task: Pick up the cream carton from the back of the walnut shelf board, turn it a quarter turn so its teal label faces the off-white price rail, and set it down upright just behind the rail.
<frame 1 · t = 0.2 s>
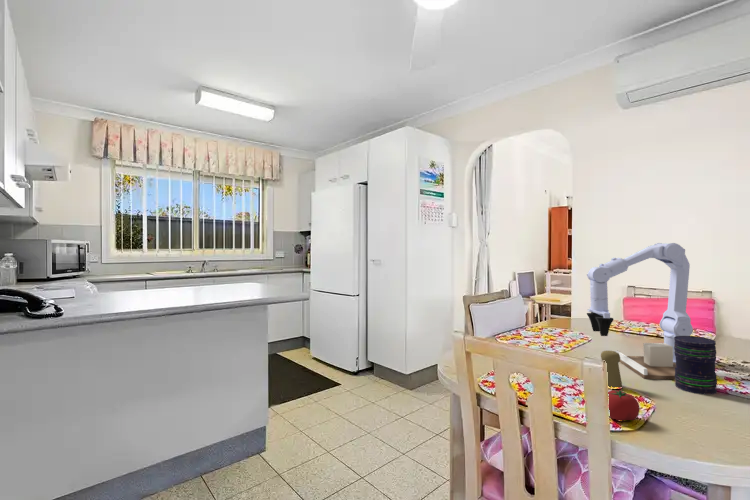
hand: (600, 333, 146), 10 cm above the table, tool pointing down, fingers open, 7 cm apart
tomato: (619, 419, 98), on the table
shelf: (653, 368, 134), on the table
dark blue cylinder: (695, 389, 116), on the table
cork: (611, 386, 119), on the table
carton: (654, 362, 137), point 1 cm above the table, touching shelf
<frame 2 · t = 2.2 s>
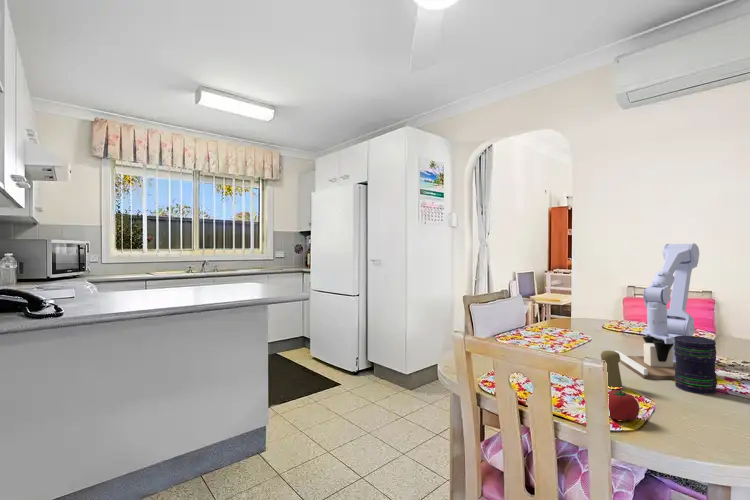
hand: (658, 359, 135), 3 cm above the table, tool pointing down, fingers closed on carton, 5 cm apart
carton: (654, 362, 137), point 1 cm above the table, touching gripper
everything else where it was.
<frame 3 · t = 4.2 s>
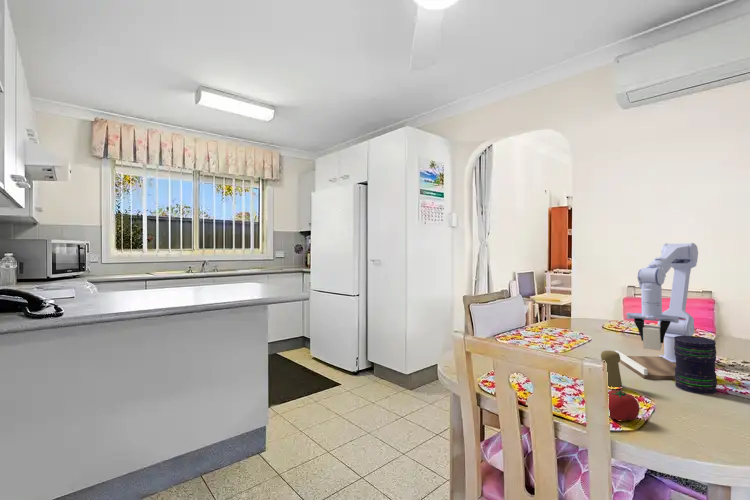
hand: (652, 341, 132), 10 cm above the table, tool pointing down, fingers closed on carton, 5 cm apart
carton: (644, 346, 134), point 8 cm above the table, touching gripper
everything else where it was.
when the fingers open (5 cm above the table, at t = 6.2 s): carton drops 1 cm, resting on shelf.
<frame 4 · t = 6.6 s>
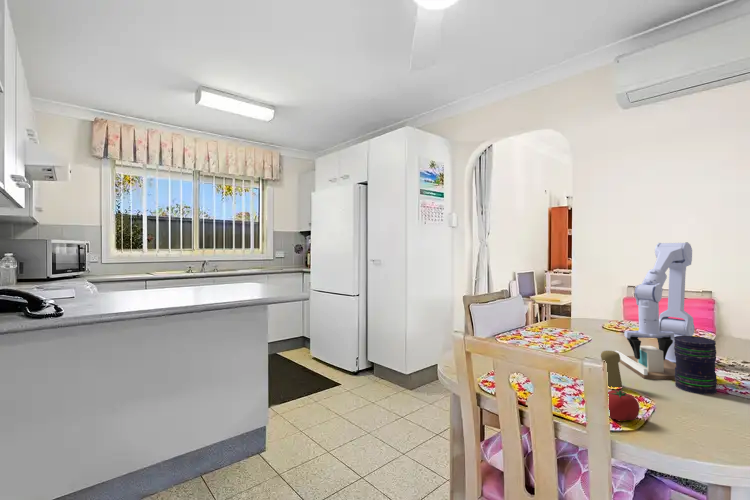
hand: (649, 358, 131), 5 cm above the table, tool pointing down, fingers open, 7 cm apart
carton: (643, 368, 131), point 1 cm above the table, touching shelf
everything else where it was.
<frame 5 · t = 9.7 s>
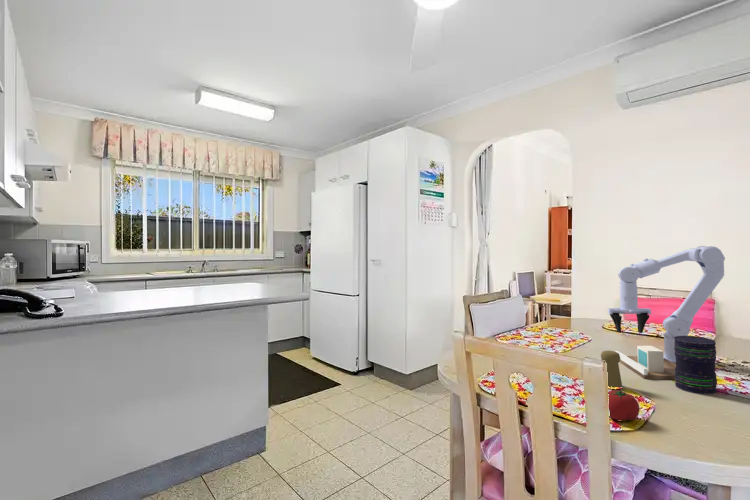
hand: (629, 332, 149), 9 cm above the table, tool pointing down, fingers open, 7 cm apart
nothing on the table moved.
at the end: carton 0.1 cm from the target spot, point 1.2 cm above the table; carton tilted 0°; the gripper is holding nothing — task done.
